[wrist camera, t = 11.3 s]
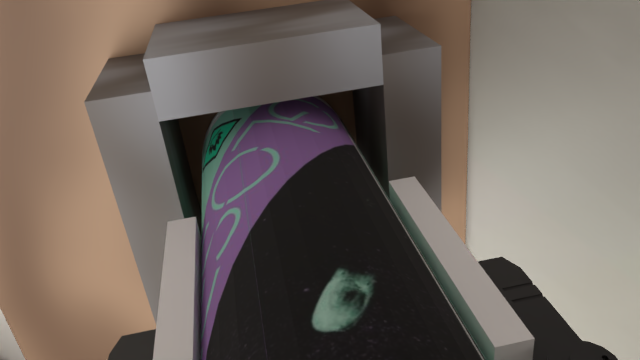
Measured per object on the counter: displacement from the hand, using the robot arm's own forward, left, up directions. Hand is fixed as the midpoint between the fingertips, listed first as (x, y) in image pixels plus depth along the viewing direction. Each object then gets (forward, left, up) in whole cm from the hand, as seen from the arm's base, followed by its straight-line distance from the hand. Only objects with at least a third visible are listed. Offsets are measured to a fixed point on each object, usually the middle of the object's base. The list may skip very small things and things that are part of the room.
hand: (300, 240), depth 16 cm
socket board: (+2, +1, -8) cm, 8 cm away
